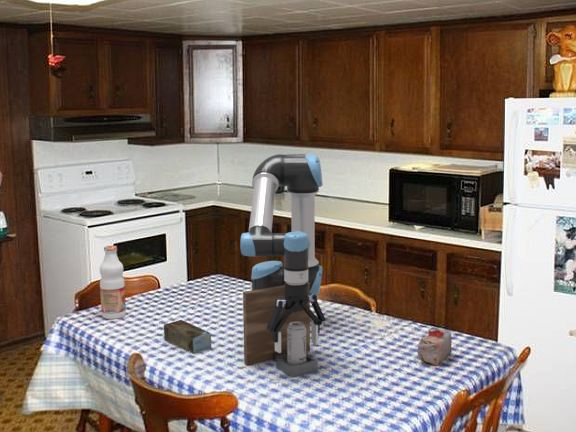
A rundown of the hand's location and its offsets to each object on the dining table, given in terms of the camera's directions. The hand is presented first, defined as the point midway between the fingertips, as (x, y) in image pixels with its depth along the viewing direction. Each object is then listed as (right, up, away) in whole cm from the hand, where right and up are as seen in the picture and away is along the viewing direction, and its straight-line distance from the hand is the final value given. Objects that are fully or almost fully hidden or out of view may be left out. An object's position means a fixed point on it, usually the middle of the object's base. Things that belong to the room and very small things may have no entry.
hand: (296, 347), depth 220 cm
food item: (+46, -6, +10) cm, 47 cm away
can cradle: (-2, -7, +4) cm, 8 cm away
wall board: (-6, -5, +11) cm, 14 cm away
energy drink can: (0, -7, +1) cm, 7 cm away
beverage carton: (-38, -4, +24) cm, 45 cm away
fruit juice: (-72, +2, +57) cm, 91 cm away
